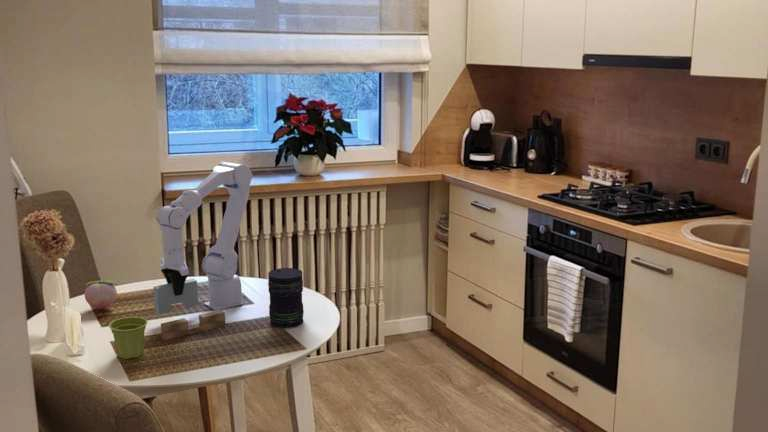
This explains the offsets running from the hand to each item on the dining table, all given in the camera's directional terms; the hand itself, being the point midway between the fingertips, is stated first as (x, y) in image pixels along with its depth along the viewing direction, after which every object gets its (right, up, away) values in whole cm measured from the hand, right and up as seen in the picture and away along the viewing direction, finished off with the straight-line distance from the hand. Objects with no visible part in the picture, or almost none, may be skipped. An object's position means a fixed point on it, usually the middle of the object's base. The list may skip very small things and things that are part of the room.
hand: (176, 293), depth 222 cm
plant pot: (-6, -14, -22) cm, 27 cm away
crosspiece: (0, -4, +1) cm, 4 cm away
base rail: (+7, -10, -7) cm, 14 cm away
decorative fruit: (-25, -6, +11) cm, 28 cm away
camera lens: (+32, -9, 0) cm, 33 cm away
